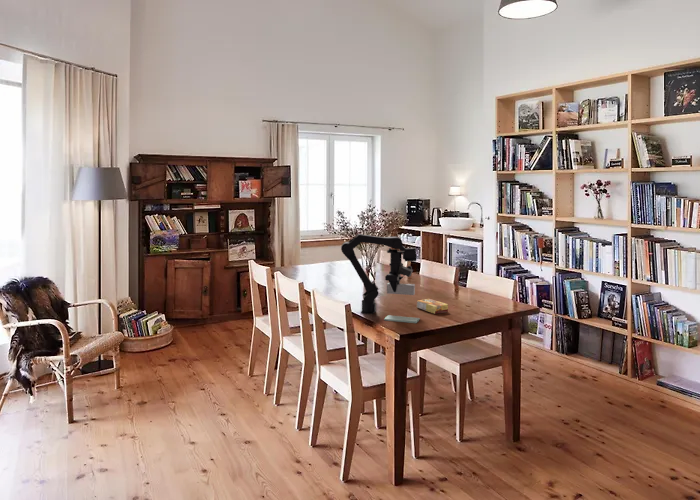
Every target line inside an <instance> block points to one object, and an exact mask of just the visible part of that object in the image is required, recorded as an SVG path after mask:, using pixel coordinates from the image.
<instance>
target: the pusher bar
mask: <svg viewBox="0 0 700 500" xmlns="http://www.w3.org/2000/svg"><path fill="white" fill-rule="evenodd" d="M415 290H416V284H415V283H401V282H400V283H397V289H396V292H393V289H392V287H391V285H390V283H389V282H388V283H387V284H386V294H389V295H392V294H393V295H405V296H406V295H407V296H408V295H409V296H414V295H416V291H415Z"/></svg>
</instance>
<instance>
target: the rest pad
mask: <svg viewBox="0 0 700 500" xmlns="http://www.w3.org/2000/svg"><path fill="white" fill-rule="evenodd" d="M420 319H421V318H420V317H412V316H402V315H391V314H388V315H387V316H385V318H384V319H383V320H384V321H389V322H398V323H408V324H409V323H410V324H417V323H418V322H419V321H420Z"/></svg>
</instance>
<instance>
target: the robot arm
mask: <svg viewBox="0 0 700 500" xmlns="http://www.w3.org/2000/svg"><path fill="white" fill-rule="evenodd" d="M361 243H367V244H374V245H383V246H386V247H388V249H387V250H386V253H387V254H390V258H389V259H390V260H389V261H390V262H389V264H388V266H390V268H389V269H390V270H389V273H388V274H386V275H385V276H384V277H385V279H384V280H385V281H388V283H390V285H391V287H392V289H393V292H396V289H397V283H400V284H401V281H402V280H403V279H404V276H406V277H408V278H410V277H411V276H412V273H413V271H414V270H413V267H412V266H411V265H408V266H404V263H403V261H402V260H404V262H417V250H416V249H417V248H415V247H410V248H407V247H406V246H404V245H403V241H402V239H401V238H400V237H399V236H396V235H395V236H379V235H378V236H374V235H370V234H369V235H368V234H362V233H358V234H357V235H356V236H354V237H353V238H351V239H350V240H348V241H345V242H343V243H342V244H341V247H340V248H341V249H340V250H341V252H342V254H343V255H344V256H345V257H346V258H347V259H348V261H349V262H350V263H351V265H352V266H353V268H354V270H355V272H356V273H357V275H358V277H359V279H360V280H361V282H362V284H363V286H364V289H365V292H364V293H363V294H362V300H361V311H360V313H361V314H370V315H371V314H372V315H373V314H374V313H376V312H377V303H376V299H377V298H378V297H379V290H380V289H379V287H378V286H377V285H376V282H375V280H373V281H372V280H371V279H370V278H369V276H368V275H367V273H366V272H365V270H364V268H363V266H362V264H361V263H360V260H359V259H358V257H357V256H356V253H355V250H354V249H355V248H357V247H358V246H359V245H360V244H361ZM405 247H406V248H405ZM402 275H403V276H402Z"/></svg>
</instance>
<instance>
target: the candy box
mask: <svg viewBox="0 0 700 500" xmlns="http://www.w3.org/2000/svg"><path fill="white" fill-rule="evenodd" d="M416 308H417V309H420V310H422V311H426V312H429V313H431V314H434V315H435V314H443V313H448V311H449V304H448V303H445V302H441V301H439V300H438V301H437V300H435V299H432V298H426V299H419V300H416Z"/></svg>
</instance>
